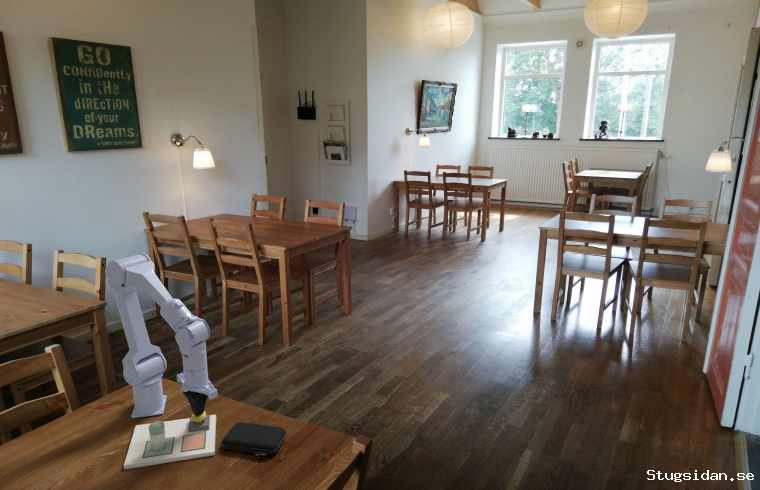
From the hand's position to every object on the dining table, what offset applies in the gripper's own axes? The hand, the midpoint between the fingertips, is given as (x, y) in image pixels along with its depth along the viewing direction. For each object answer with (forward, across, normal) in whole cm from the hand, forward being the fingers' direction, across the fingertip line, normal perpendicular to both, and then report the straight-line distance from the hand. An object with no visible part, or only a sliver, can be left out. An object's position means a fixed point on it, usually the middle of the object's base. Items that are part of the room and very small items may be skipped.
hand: (198, 413), depth 129 cm
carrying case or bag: (+5, +16, +4) cm, 17 cm away
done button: (+2, 0, 0) cm, 2 cm away
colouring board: (+4, -1, -7) cm, 8 cm away
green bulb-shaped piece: (+3, 0, -12) cm, 12 cm away
